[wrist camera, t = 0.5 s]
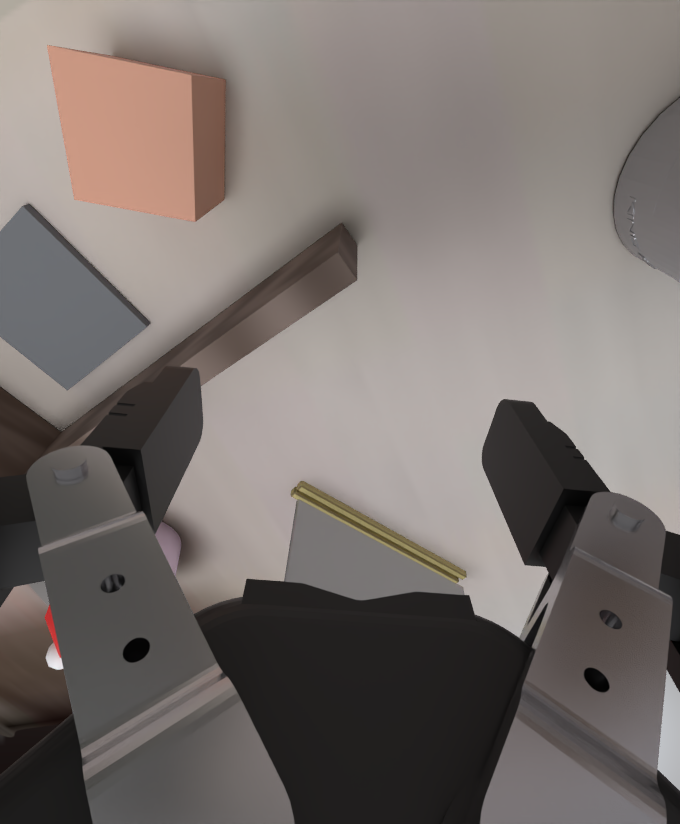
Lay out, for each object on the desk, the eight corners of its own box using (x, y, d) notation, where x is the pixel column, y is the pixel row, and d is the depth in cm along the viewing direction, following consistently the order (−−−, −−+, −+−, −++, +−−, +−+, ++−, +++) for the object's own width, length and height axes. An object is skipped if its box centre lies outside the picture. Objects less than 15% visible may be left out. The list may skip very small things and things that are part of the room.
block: (112, 55, 21) (47, 44, 17) (225, 79, 21) (191, 74, 17) (126, 180, 24) (74, 199, 20) (224, 199, 25) (195, 222, 20)
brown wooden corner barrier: (164, -47, 19) (97, -96, 14) (357, 245, 26) (357, 280, 21) (-125, 315, 30) (-219, 357, 25) (66, 452, 37) (22, 507, 32)
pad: (29, 203, 25) (22, 206, 25) (150, 322, 29) (146, 326, 29) (-48, 290, 28) (-55, 293, 28) (71, 386, 33) (67, 390, 32)
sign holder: (466, 570, 45) (489, 675, 37) (453, 578, 45) (474, 682, 37) (302, 479, 38) (286, 583, 30) (290, 490, 39) (272, 594, 30)
